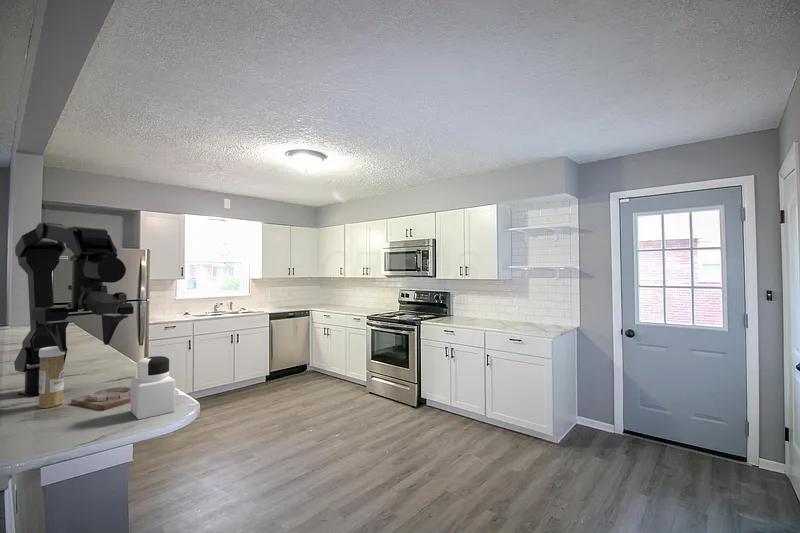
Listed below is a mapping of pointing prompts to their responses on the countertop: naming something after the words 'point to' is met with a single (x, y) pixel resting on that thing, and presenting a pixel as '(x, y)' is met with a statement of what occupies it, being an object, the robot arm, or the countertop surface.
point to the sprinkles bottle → (51, 377)
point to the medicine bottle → (152, 388)
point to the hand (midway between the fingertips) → (85, 347)
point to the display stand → (105, 398)
